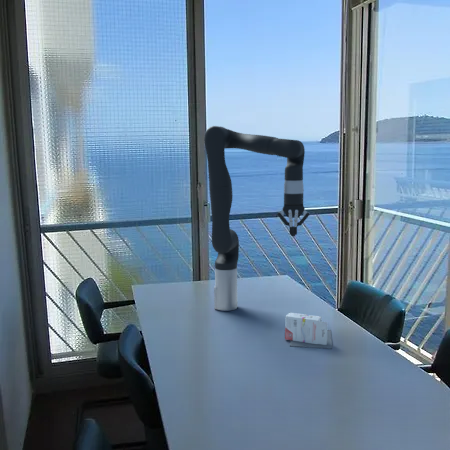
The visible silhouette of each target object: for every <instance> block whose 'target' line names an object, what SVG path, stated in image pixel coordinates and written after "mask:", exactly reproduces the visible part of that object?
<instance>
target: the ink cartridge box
mask: <svg viewBox="0 0 450 450" xmlns="http://www.w3.org/2000/svg"><path fill="white" fill-rule="evenodd" d="M322 320H323V319H322V316H319V315H313V314H305V313H304V314H303V313H298V312H297V313H296V312H288V313H287V314H286V315H285V319H284V321H285V322H284V324H285V325H284V331H285V332H284V339H285V340H286V341H287V340H288V341H290V340H293V341H299V342H305V343H311V344H322V345H327V330H328V325H329V323H328V322H327V321H322ZM322 330H324V333H325V334H324V337H322Z"/></svg>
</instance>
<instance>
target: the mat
mask: <svg viewBox="0 0 450 450" xmlns="http://www.w3.org/2000/svg"><path fill="white" fill-rule="evenodd" d="M324 334H325V333H324V329H322V337H324ZM289 347H295V348H296V347H297V348H311V349H329V350H332V349H333V339H332V330H331V329H327V345H322V344H311V343H305V342H299V341H293V340H289Z"/></svg>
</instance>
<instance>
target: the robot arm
mask: <svg viewBox="0 0 450 450" xmlns="http://www.w3.org/2000/svg"><path fill="white" fill-rule="evenodd" d="M203 135H204V136H203V141H204V147H205V153H206V158H207V159H206V160H207V170H208V171H207V173H208V187H209V198H210V210H211V211H210V212H211V245H212V248H213V249H214V251H215V252H216V253H217V257H216V260H215V261H214V287H213V293H214V298H213V299H214V300H213V301H214V303H213V304H214V310H218V311H222V312H224V311H225V312H227V311H235V310H237V308H238V262H239V257H240V256H239V252H240V249H239V248H240V245H239V244H240V241H239V235H238V234H237V232H236V231H235V230H233V229H232V228H231V227H230V215H231V214H230V213H231V209H232V205H233V183H232V179H231V176H230V175H231V174H230V172H229V169H228V166H227V163H226V158H225V157H226V155H225V152H226V151H225V149H240V150H246V151H249V152H252V153H257V154H263V155H269V156H278V157H282V158H286V166H285V168H284V183H283V207H282V210H281V211H278V212H277V216H278V217H279V218H280V220H281V221H282V222H283V224H284V225H285V226H288V227H289V235H290V236H291V237H296V235H298V227H299V226H302V225H303V224H304V222H305V221H306V220H307V219H308V217H310V212H308V211H307V210H306V209H305V206H304V191H305V190H304V169H303V168H304V167H303V166H304V163H305V161H304V160H305V152H306V151H305V150H306V149H305V145H304V143H303V142H302V141H300V140H298V139H289V138H287V139H286V138H279V137H275V136H270V135H269V136H268V135H263V134H250V133H249V134H248V133H242V132H237V131H234V130H232V129H228V128H226V127H224V126H219V125H212V126H209V127H208V128H207V129H206V130H205V132H204V134H203ZM302 214H303V215H302ZM284 215H285V216H286V217H287V218H288V220H287V219H286V217H285V216H284ZM301 216H303V217H302V218H301V219H300V220H299V218H300V217H301Z"/></svg>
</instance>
